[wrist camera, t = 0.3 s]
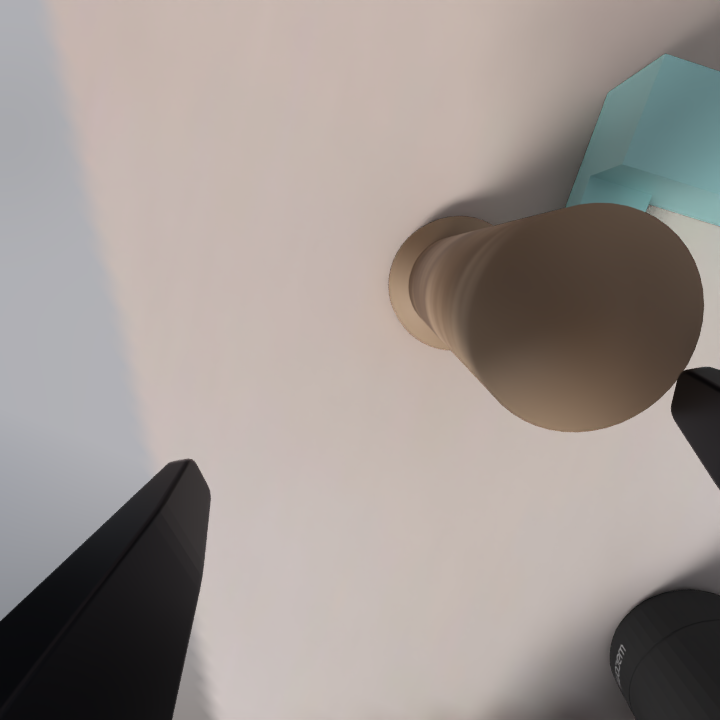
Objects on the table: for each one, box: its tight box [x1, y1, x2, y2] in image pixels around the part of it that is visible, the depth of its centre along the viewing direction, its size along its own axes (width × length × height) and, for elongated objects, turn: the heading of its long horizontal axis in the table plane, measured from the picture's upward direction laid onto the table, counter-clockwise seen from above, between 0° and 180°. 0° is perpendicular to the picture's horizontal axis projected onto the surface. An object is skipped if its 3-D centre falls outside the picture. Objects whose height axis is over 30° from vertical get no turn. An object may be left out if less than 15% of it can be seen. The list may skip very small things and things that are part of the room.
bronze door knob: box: [389, 203, 704, 432], centre depth 16 cm, size 6×6×14 cm
